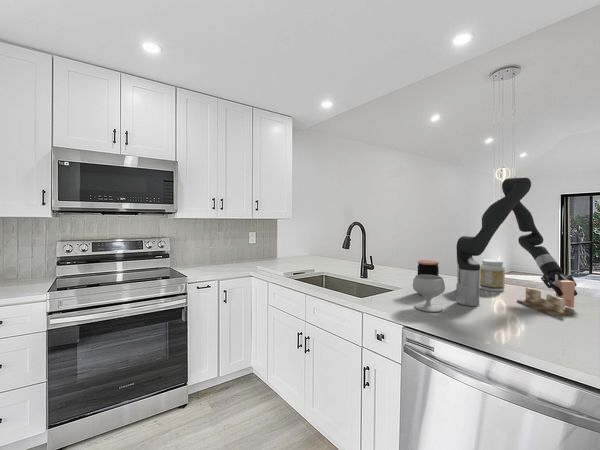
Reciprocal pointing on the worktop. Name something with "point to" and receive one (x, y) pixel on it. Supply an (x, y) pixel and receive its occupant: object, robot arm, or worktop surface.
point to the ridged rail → (544, 303)
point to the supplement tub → (492, 275)
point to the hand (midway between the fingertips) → (568, 295)
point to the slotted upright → (567, 292)
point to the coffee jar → (428, 267)
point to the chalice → (428, 290)
